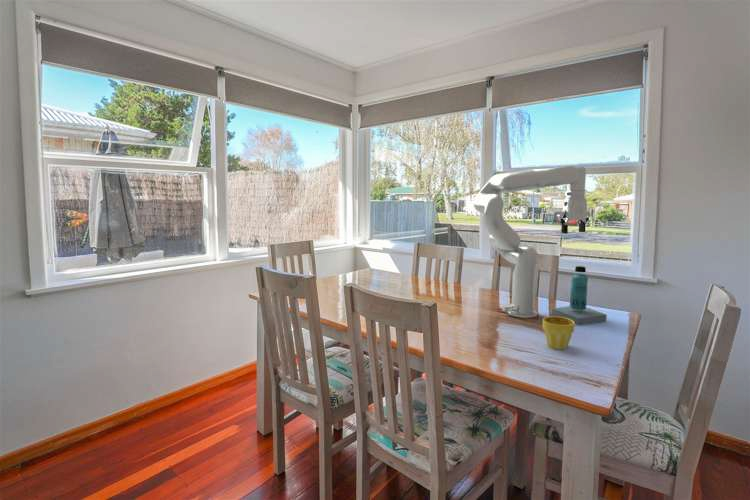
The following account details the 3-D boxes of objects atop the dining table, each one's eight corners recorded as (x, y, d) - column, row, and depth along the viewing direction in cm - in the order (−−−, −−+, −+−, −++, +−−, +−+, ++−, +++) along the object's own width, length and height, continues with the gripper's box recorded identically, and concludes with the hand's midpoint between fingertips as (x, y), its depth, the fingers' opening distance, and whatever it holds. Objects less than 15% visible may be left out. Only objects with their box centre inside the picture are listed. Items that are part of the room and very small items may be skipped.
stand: (577, 325, 166) (577, 318, 165) (552, 314, 180) (552, 308, 179) (606, 321, 170) (606, 314, 169) (579, 311, 184) (579, 305, 184)
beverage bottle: (566, 309, 177) (568, 265, 174) (580, 308, 178) (583, 264, 175) (574, 314, 171) (577, 268, 168) (589, 313, 171) (592, 267, 168)
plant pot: (560, 354, 137) (561, 327, 136) (535, 344, 147) (536, 318, 145) (579, 348, 142) (581, 322, 141) (554, 339, 151) (555, 314, 150)
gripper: (565, 195, 173) (563, 234, 175) (597, 194, 177) (595, 232, 180) (553, 195, 180) (551, 232, 182) (584, 194, 185) (582, 231, 187)
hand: (573, 232), depth 181 cm, fingers open, 9 cm apart
